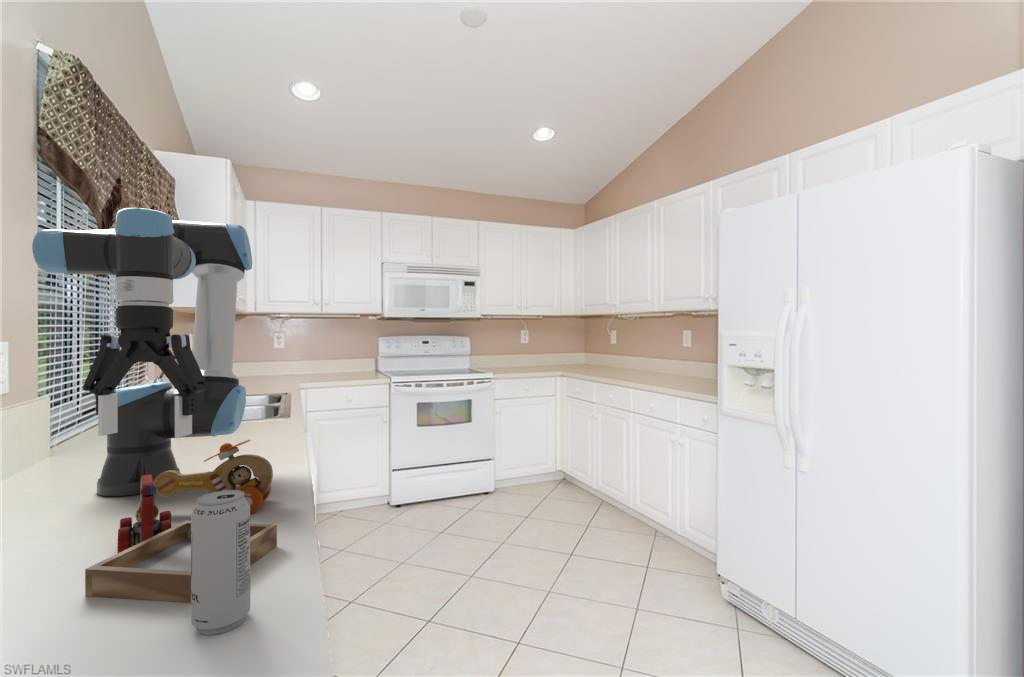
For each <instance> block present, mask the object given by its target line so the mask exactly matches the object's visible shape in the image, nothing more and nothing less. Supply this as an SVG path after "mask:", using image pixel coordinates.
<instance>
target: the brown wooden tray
mask: <svg viewBox="0 0 1024 677" xmlns="http://www.w3.org/2000/svg"><path fill="white" fill-rule="evenodd" d="M277 525H278V524H274V523H273V524H267V523H251V522H250V566H252V565H253V564H254V563H256V562H257V561H258V560H260V559H262V557H264V556H266V555H267V554H268V553H269V551H270V552H271V551H272V550H273V548H274V549H276V548H277V547H276V546H278V535H277V534H278V526H277ZM84 571H85V572H84V582H85V584H84V588H85V589H84V595H85V597H97V598H99V597H101V598H113V599H129V600H141V601H142V600H143V601H155V602H156V601H157V602H159V601H160V602H173V603H187V604H191V520H185V521H183V522H181V523H178V524H176V525H174V526H173V527H172V528H170V529H168V530H166V531H164V532H162V533H159V534H157V535H155V536H153V537H151V538H149V539H147V540H145V541H143V542H141V543H139V544H137V545H134V546H132V547H130V548H128V549H126V550H124V551H122V552H120V553H118V552H117V553H116V554H114V555H112V556H110V557H108V558H106V559H103V560H102V561H99V562H97V563H95V564H93V565H91V566H88V567H87V568H84Z"/></svg>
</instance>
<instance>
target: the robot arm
mask: <svg viewBox="0 0 1024 677" xmlns="http://www.w3.org/2000/svg"><path fill="white" fill-rule="evenodd" d="M115 218H116V219H115V227H114V228H111V229H110V228H109V229H86V230H85V229H84V230H82V229H80V230H75V229H73V230H72V229H63V228H59V229H58V228H57V229H47V228H46V229H42V230H41V229H40V230H39V231H38V232H36V233H35V235H34V236H33V240H32V244H31V248H32V254H33V255H32V256H33V259H34V261H35V264H36V265H37V266H38V267H39V268H40V269H41V270H42V271H44V272H46V273H51V274H52V273H53V274H64V275H105V276H106V275H109V276H115V300H116V302H117V303H120V305H118V306H117V307H116V308H115V326H116V328H117V329H119V330H120V334H102V335H101V337H100V343H99V344H100V345H99V349H98V351H97V354H96V355H95V359H94V361H93V363H92V366H91V368H90V370H89V371H88V374H87V377H86V378H85V381H84V382H83V385H82V389H83V391H85V392H91V393H92V394H93V395H94V396H95V412H96V415H98V416H97V417H98V418H97V420H98V421H97V422H98V423H97V432H98V433H97V435H98V436H99V437H102V436H103V437H104V436H106V458H105V461H104V464H103V467H102V470H101V474H100V477H98V479H97V481H96V494H97V495H99V496H102V497H103V496H104V497H124V496H134V495H140V492H141V477H142V476H143V475H150V474H151V475H152V478H153V482H154V479H155V478H156V477H157V476H158V475H159V474H161V473H163V472H165V471H169V470H175V471H178V472H180V473H181V469H180V468H179V467H178V463H177V461H176V458H175V456H174V453H173V450H172V439H181V438H183V439H184V438H197V437H198V438H199V437H202V438H203V437H212V438H213V437H214V438H215V437H218V436H226V435H227V436H228V435H232V434H233V433H234V434H235V433H236V431H237V430H239V428H240V426H241V424H242V421H243V418H244V414H245V410H246V409H245V408H246V405H247V404H246V401H247V398H246V397H247V390H246V387H245V386H244V385H241V384H239V383H240V379H239V378H238V377H237V375H235V374H234V373H233V368H234V367H233V365H234V344H235V333H236V332H235V330H236V329H235V328H236V313H237V312H236V311H237V309H236V307H237V297H238V296H237V293H238V291H237V290H238V283H239V282H240V281H242V280H243V279H244V278H245V271H250V270H252V269H253V256H252V249H251V244H250V239H249V235H248V232H247V231H246V230H247V229H246V228H245V227H243V226H242V225H240V224H234V223H233V224H232V223H227V222H224V223H223V222H221V223H220V222H204V221H193V220H192V221H191V220H189V221H188V220H175V219H174V220H173V218H172V217H171V215H169V214H168V213H165V212H163V211H160V210H156V209H150V208H141V207H139V208H138V207H125V208H122V209H120V210H118V211H117V212H116V217H115ZM191 273H192V275H193V276H194V277H196V278H197V283H196V284H197V286H196V297H195V299H196V301H195V314H194V324H193V326H194V327H193V339H192V347H191V343H190V340H191V339H190V336H189V335H188V334H175V333H174V334H172V335H171V329H173V328H174V309H172V307H170V305H172V304H174V280H180V279H183V278H186V277H188V276H189V275H191ZM170 348H171V350H172V351H171V350H170ZM191 348H192V349H191ZM137 363H153V364H154V365H155V366H158V368H159V369H160V371H162V373H163V374H164V375H165V377H166V378H167V380H169V381H161V382H153V383H152V382H151V383H144V384H139V385H133V386H126V387H122V388H121V387H120V388H117V387H118V385H119V384H120V383H121V382H122V381H123V380H124V377H125V376H126V375H127V374H128V373H129V371H130V369H131V368H132V367H133V366H134V365H135V364H137Z"/></svg>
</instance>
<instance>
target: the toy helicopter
mask: <svg viewBox="0 0 1024 677" xmlns="http://www.w3.org/2000/svg"><path fill="white" fill-rule="evenodd" d="M250 441H251V439H247V440H245V441H242V442H239V443H236V444H234V445H233V444H231V443H229V442H226V443H224V444H222V445H220V447H219V453H217V454H214V455H212V456H210V457H208V458H206V459H205V460H203V462H207V461H209V460H211V459H214V458H215V457H217V456H218V458H219V460H220V461H223V460H225V459H227V458H228V459H227V460H225V461H223V462H221V463H220V464H219V465H217V467H216V468H215V469H214V470H212V471H205V472H204V471H203V472H195V473H186V474H185V473H184V474H183V473H181V471H180V472H178V471H175V470H169V471H165V472H163V473H161V474H159V475H158V476H157V477H156V478H155V479H154V482H153V484H154V485H155V486H156V489H157V490H156V493H155V494H157V495H158V496H160V497H163V498H168V497H172V496H174V495H176V494H177V493H179V492H190V491H193V492H194V491H196V492H197V491H206V492H208V493H212V492H217V491H224V490H240V491H243V492H244V498H245V499H246V500H247V502H248V503H249V505H250V514H253V513H255V512H256V511H257V510H259V508H260V507H261V506H262V504H263V502H264V501H266V500H267V499H268V497H269V496H270V494H271V492H272V486H271V485H272V481H273V476H274V474H273V467H272V464H271V463H270V461H269V460H268V459H266V458H265V457H263V456H260V455H257V454H240V455H237V456H234V455H235V454H237V453H238V452H240V449H239V446H241V445H243V444H246V443H249V442H250ZM252 475H253V478H252Z"/></svg>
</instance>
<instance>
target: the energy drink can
mask: <svg viewBox="0 0 1024 677" xmlns="http://www.w3.org/2000/svg"><path fill="white" fill-rule="evenodd" d="M190 521H191V603H190V604H191V605H190V608H191V609H190V617H191V620H190V623H191V626H192V627H193V628H195V629H196V631H197V633H199V634H201V635H204V636H212V635H213V636H214V635H219V634H224V633H227V632H229V631H232V630H233V629H235V628H237V627H238V626H240V625H241V624H242V623H243V622H244V621H245V619H246V615H247V614H248V613H249V612H250V610H251V565H250V523H251V513H250V505H249V503H248V502H247V500H246V499H245V498H244V492H243V491H240V490H224V491H217V492H212V493H209V492H208V493H205V494H203V495H201V496H198V498H197V499H196V506H195V507H194V509H193V511H192V512H191V514H190Z"/></svg>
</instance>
